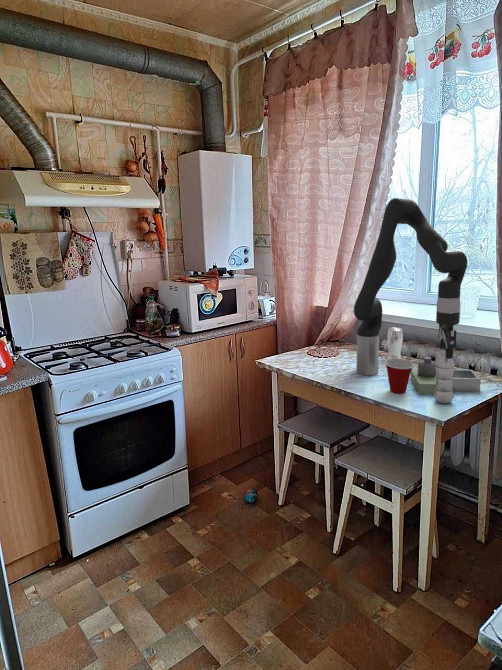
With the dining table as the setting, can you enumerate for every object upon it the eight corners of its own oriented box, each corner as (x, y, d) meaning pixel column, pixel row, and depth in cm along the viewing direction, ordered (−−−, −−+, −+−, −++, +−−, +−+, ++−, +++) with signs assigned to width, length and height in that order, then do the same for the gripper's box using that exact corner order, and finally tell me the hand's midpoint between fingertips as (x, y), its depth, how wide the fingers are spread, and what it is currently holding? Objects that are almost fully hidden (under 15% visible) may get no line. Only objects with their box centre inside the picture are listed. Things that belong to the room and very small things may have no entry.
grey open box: (449, 390, 177) (450, 378, 176) (442, 381, 188) (443, 369, 186) (479, 391, 175) (480, 378, 174) (471, 381, 186) (472, 369, 185)
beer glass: (403, 358, 219) (404, 328, 216) (399, 362, 214) (400, 331, 210) (389, 356, 223) (389, 326, 219) (384, 360, 217) (385, 330, 214)
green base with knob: (418, 393, 176) (419, 366, 173) (410, 378, 193) (411, 352, 190) (451, 394, 174) (453, 366, 171) (440, 378, 191) (441, 352, 188)
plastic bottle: (454, 406, 163) (458, 352, 158) (434, 405, 165) (437, 351, 160) (450, 399, 169) (454, 347, 165) (431, 398, 171) (434, 346, 166)
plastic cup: (403, 398, 172) (404, 368, 169) (378, 391, 180) (379, 362, 177) (418, 390, 179) (419, 361, 176) (393, 384, 187) (394, 356, 184)
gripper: (432, 306, 166) (430, 349, 170) (441, 314, 153) (439, 360, 156) (454, 306, 165) (451, 349, 169) (465, 313, 151) (463, 360, 155)
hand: (446, 354), depth 163 cm, fingers open, 8 cm apart
